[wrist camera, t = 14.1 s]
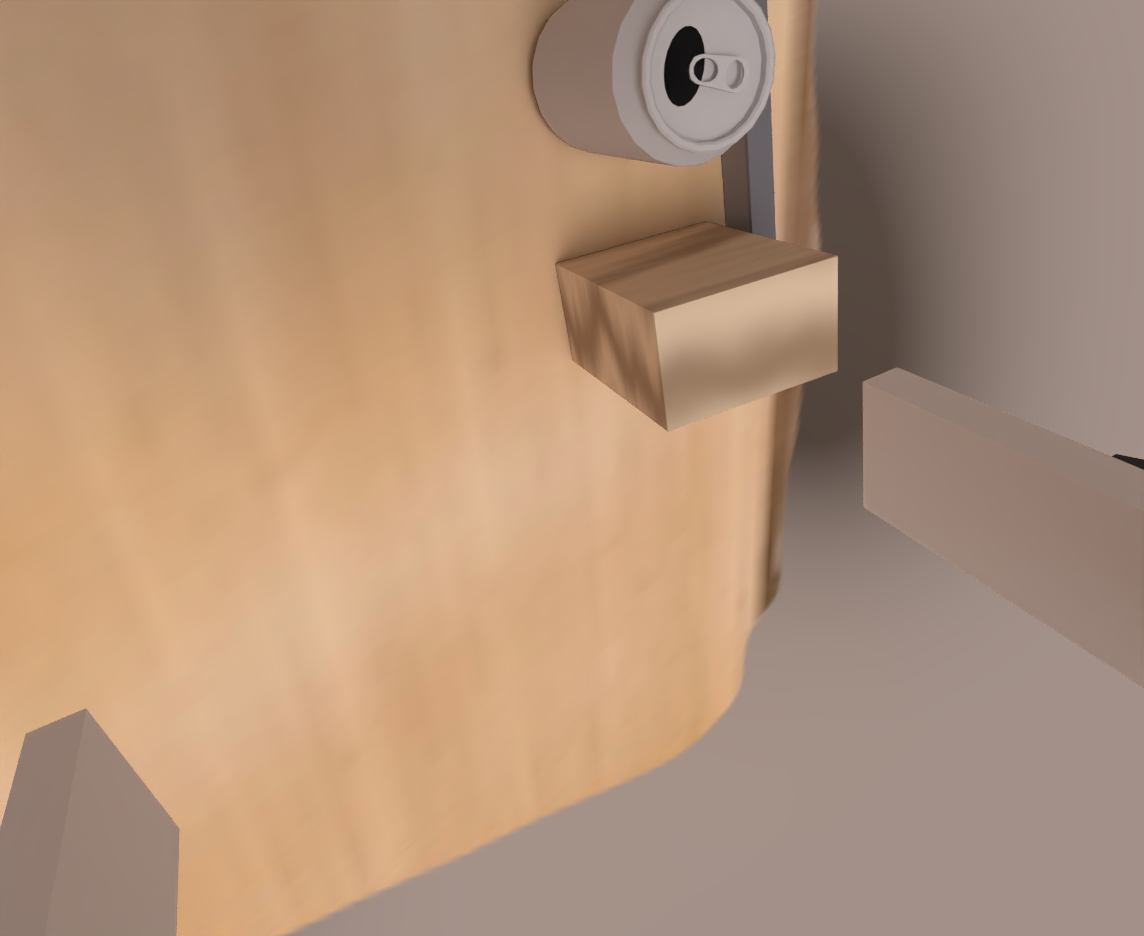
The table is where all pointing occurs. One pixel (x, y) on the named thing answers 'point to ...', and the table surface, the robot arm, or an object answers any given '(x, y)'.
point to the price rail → (751, 176)
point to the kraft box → (701, 319)
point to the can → (654, 76)
